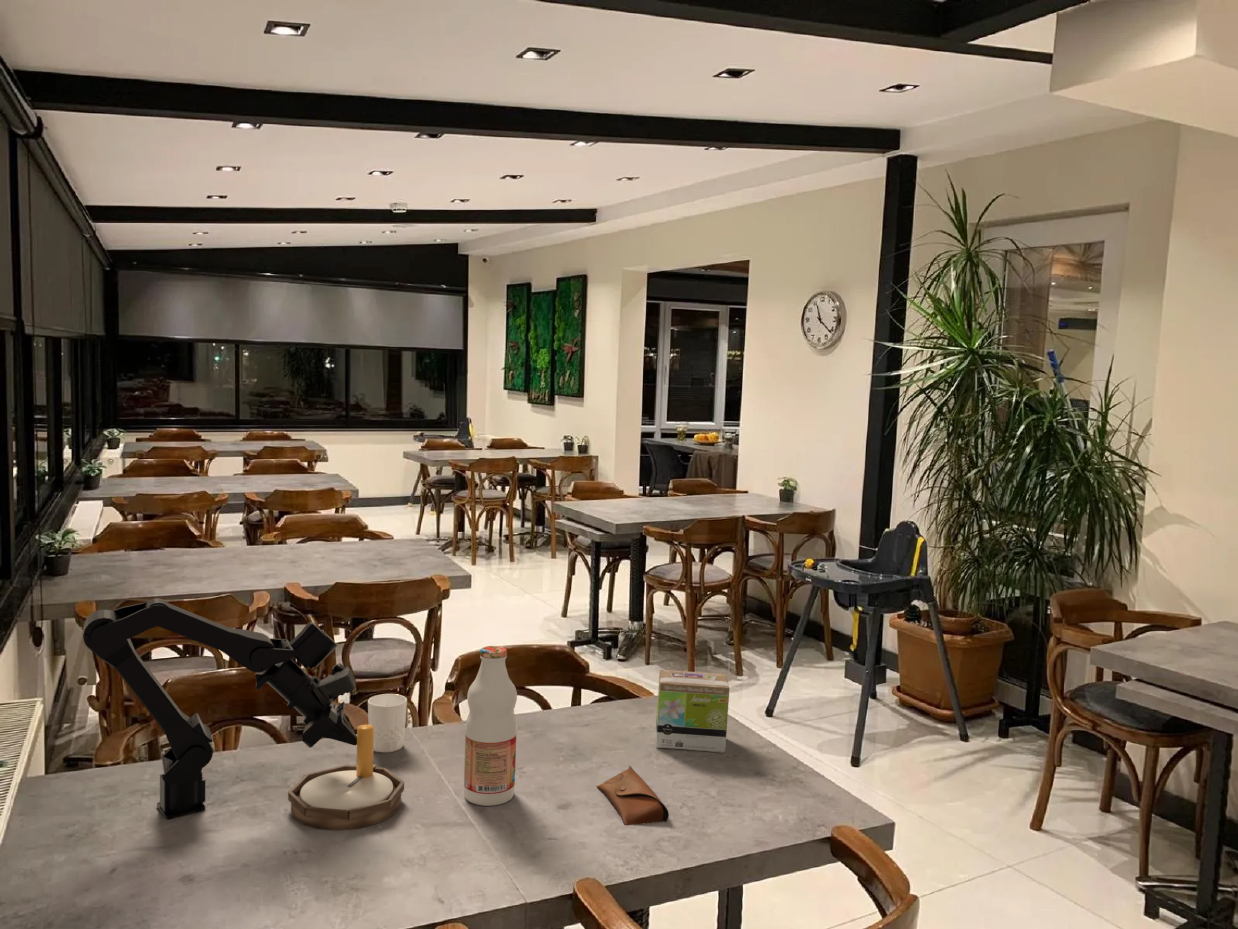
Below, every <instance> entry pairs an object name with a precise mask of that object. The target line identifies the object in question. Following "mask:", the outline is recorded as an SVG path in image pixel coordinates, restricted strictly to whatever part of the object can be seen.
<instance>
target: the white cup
mask: <svg viewBox="0 0 1238 929" xmlns="http://www.w3.org/2000/svg"><path fill="white" fill-rule="evenodd" d="M407 704H408V698H407V697H406V696H404V695H401V694H396V693H383V694H377V695H373V696H371V697H369V699H368V700H367V708H368V709H367V711H368V712H367V713H368V714H367V716H368V725H372V726H374V747H373V752H377V753H393V752H397V751H398V750H401V749H402V748H403V746H404V740H405V739H404V738H405V731H406V722H407V721H406V719H407V706H408V705H407Z"/></svg>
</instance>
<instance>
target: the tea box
mask: <svg viewBox="0 0 1238 929" xmlns="http://www.w3.org/2000/svg"><path fill="white" fill-rule="evenodd" d="M728 681H729V680H728V676H727V674H726V673H713V672H701V671H699V672H698V671H686V670H685V671H684V670H671V669H660V670H659V676H658V687H657V688H658V692H657V706H656V719H655V720H656V721H655V740H656V741H655V742H656V743H655V745H656V746H655V747H656V749H675V750H676V749H677V750H689V751H700V752H701V751H702V752H711V753H721V754H724V753H725V751H726V747H727V746H726V744H727V731H728V730H727V729H728V714H729V712H728V711H729V703H730V685H729V682H728Z"/></svg>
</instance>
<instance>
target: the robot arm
mask: <svg viewBox="0 0 1238 929" xmlns="http://www.w3.org/2000/svg"><path fill="white" fill-rule="evenodd" d="M157 627H158V628H161V629H165V630H167V631H169V632H173V633H175V634H177V635H180V636H183V637H185V638H187V639H190V640H192V641H195V642H197V643H200V644H203V645H205V646H207V647H209V648H210V647H211V648H212V649H216V650H218V651H220V652H221V653H223V654H224V655H226V656H228V657H229V658H230V659H231V660H233V661H235V662H236V663H237V664H239V665H240V666H242V667H244V668H246V669H247V670H249V671H250V672H254V677H255V680H256V682H255V690H258V691H259V690H261V689H262V688H263V687H264V686H265V685H266V684H268V685H269V686H270V687H271V688H272V689H273V690H275V692H276V693H277V694H278V695H280V696H281V697H282V698H283V699H284V700H285V701H287V705H286V707H287V708H288V709H289V710H292V709H295V710H296V711H297V712H298V713H299V714H300V715H301V716H303V720H302V722H303V723H304V724H306V725H305V726H304V729H303V731H302V739H301V740H302V743H304V744H305V745H306V746H307V747H308V748H309V749H311V748H313V747H314V746H315V745H316V744H317V743H318V742H319V741H320V740H322V738H325V739H329V740H333V741H338V742H341V743H345V744H349V745H350V746H351V745H352V746H357V733H355V731H354V730H353V728H352V726H351V725H350V723H349V721H348V719H347V717H346V716H345V706H346V704H345V703H346V702H345V701H342V702H341V703H340V704H339V705H338V704H336V703H335V704H334V701H335V700H337V699H338V697H339V696H344V695H345V694H349V693H351V692H352V691H354V690H355V688H356V686H355V685H357V681H356V679H355V677H354V676H353V669H350V668H349V666H344V665H343V664H342V663H337V664H335V665H333V666H332V669H331V674H328V675H327V677H325V678H323V679H321V678H320V677H319V676H317V675H313V676H310V675H309V674H307V672H305V671H304V669H303V668H305V669H308V668H309V669H313V668H317V667H319V665H320V664H321V663H322V662H323V661H324V660H325V659H326V658H327V657H328V656H329V655H330V654H331V653H332V652H333V651H334V650H335V649H336V648H337V647H338V644H337V643H336V642H335V641H334V639H333V638H332V637H330V635H328V634H327V632H325V630H323V629H320V627H318V625H315V623H313V622H312V621H308V623H307V624H305V626H304V627H303V629H301V631H300V632H299V633H298V634H297V635H295V637H293V639H292V640H290V641H289V640H288V639H286V638H271V637H269V636H268V635H266V634H265V633H263V632H258V631H253V630H248V629H242V628H233V627H228V626H225V625H224V624H221V623H219V622H217V621H216V622H215V621H214V620H211V619H209V618H206V617H203V616H201V615H198V614H196V613H194V612H191V611H189V610H186V609H183V608H181V607H179V606H177V605H174V604H171V603H169V602H167V601H166V600H165V599H163V598H159V597H158V598H157V597H156V598H152V599H149V600H147V601H144V602H141V603H136V604H132V605H131V604H130V605H127V606H122V607H119V608H116V609H114V610H111V609H99V610H96V611H94V612H92V613H91V614H90V615H89V614H88V616H87V618H86V619H85V620H84V623H83V629H82V630H83V633H82V636H83V637H82V639H83V640H82V641H83V644H84V645H85V646H86V647H87V649H89V650H90V651H91V652H92V653H93V654H95V655H96V656H97V657H98V658H99V659H100V660H102V661H103V662H104V663H106V664H108V666H111V667H112V668H114V669H115V670H116V671H117V672H118V674H119V675H120V676H121V678H122V679H123V680H124V681H125V683H126V684H127V685H128V687H129V688H130V689H131V691H132V692H133V693H134V694H135V696H136V697H137V699H139V701H140V702H141V703H142V705H143V707H145V709H146V710H147V711H148V713H149V714H150V715H151V716H152V718H153V720H154V721H155V722H156V723H157V724H158V725H159V727H160V728H161V729H162V730H163V733H164V734H165V736H166V740H167V742H168V744H169V747H170V748H169V749H168V750H167V751H166V752H165V753H164V754H163V755H162V756H161V764H162V771H163V773H162V774H160V775H159V802H157V803H156V807H157V808H158V809H159V811H160V813H161V814H162V815H163V816H164V818H165V819H172V818H177V817H181V816H184V815H188V814H192V813H193V814H194V813H196V812H201V811H204V810H206V805H205V803H206V780H205V778H204V777H203V772H202V770H203V768H205V767H206V766H208V764H210V762H211V760H212V759H213V754H214V749H213V746H212V743H214V739H213V736H212V733H211V730H210V727H209V726H206V725H205V723H203V722H202V720H201V718H200V715H199V714H198V712H195V713H194V714H193V715H192V716H191V717H190V716H188V715H187V714H186V713H184V712H183V711H182V710H181V709H180V707H178V705H177V704H176V703H175V702H174V700H173V698H172V697H171V696H170V694H168V692H167V690H166V689H165V688H164V687H163V686H162V684H161V683H160V682H159V680H158V679H157V678H156V676H155V675H154V674H153V672H152V671H151V670H150V668H149V667H148V666H147V664H146V663H145V662H144V660H143V659H142V657H140V655H139V654H138V653H137V651H136V649H135V647H134V645H133V642H132V640H131V639H132V638H135V637H136V636H138V635H140V634H142V633H144V632H146V631H149V630H150V629H154V628H157ZM292 658H294V659H295V660H296V661H297V662H298V663H299V664H301V666H303V668H302V667H300V666H299V665H298V664H297V663H296V662H295V661H294V660H293V659H292Z"/></svg>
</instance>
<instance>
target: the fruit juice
mask: <svg viewBox="0 0 1238 929" xmlns="http://www.w3.org/2000/svg"><path fill="white" fill-rule="evenodd" d="M479 657H480V660H481V663H480V666H479V669H478V672H477V674H476V677H475V679H474V681H473V682H472V683H471V684H470V686H469V688H468V691H467V695H466V696H467V697H466V698H467V699H466V701H467V705H468V709H469V713H468V715H467V716H466V722H465V736H464V737H465V740H464V741H465V743H464V766H463V767H464V770H463V771H464V773H463V775H464V776H463V794H464V798H465V799H466V801H468V802H469V803H471V804H474V805H477V806H482V807H483V806H484V807H485V806H487V807H491V806H493V807H494V806H499V805H503V804H505V803H508V802H509V801H510V800H512V798H513V797H514V795H515V786H516V759H517V758H516V757H517V754H516V753H517V732H518V730H517V728H518V727H517V726H518V725H517V716H516V715H515V708H516V704H517V700H518V693H517V688H516V686H515V684H514V683H513V682H512V680H511V679H510V676H509V674H508V670H507V666H506V659H507V658H508V650H507V648H506V647H504V646H501V645H486V646H483V647H481V648H480V651H479Z"/></svg>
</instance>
